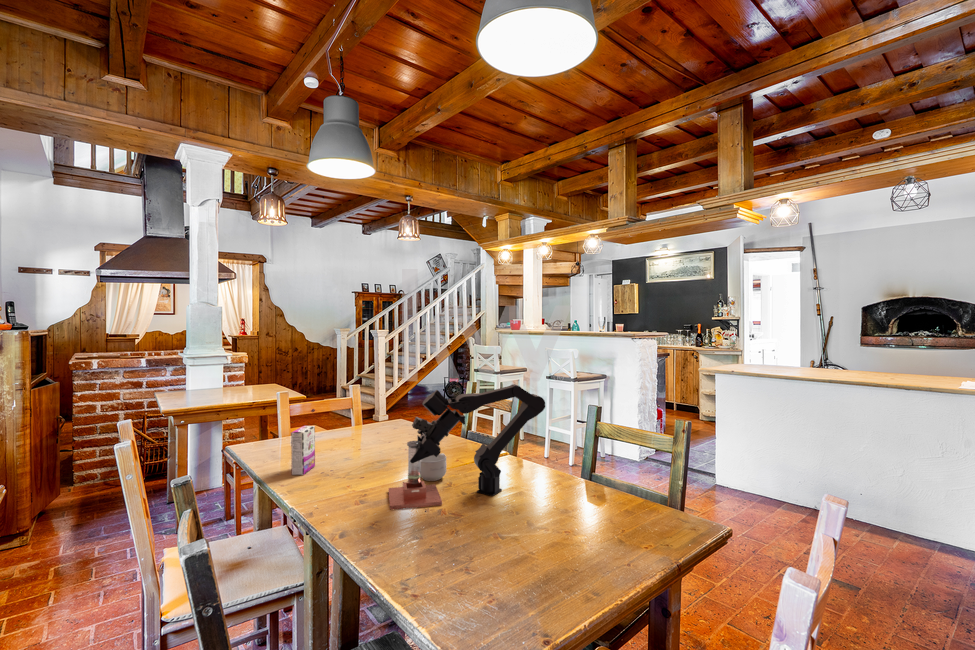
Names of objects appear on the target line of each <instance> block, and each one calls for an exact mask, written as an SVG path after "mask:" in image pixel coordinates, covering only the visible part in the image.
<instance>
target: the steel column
mask: <svg viewBox="0 0 975 650" xmlns="http://www.w3.org/2000/svg"><path fill="white" fill-rule="evenodd" d="M406 446H407V449H408V452H407V453H408V454H407V455H408V459H407V461H408V463H407V467H408V468H407V470H408V471H407V480H408V481H407V482H408V483H409V484H419V483H420V482H421V481H422V480H421V479H422V478H421V460H419V461H417V462H415V463H411V462H410V460H411V459H412V457H413V456H414V454H415V453H416V451H417V450H418V449H419V441H417V440H410V441H407V443H406Z"/></svg>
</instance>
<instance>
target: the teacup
mask: <svg viewBox="0 0 975 650" xmlns="http://www.w3.org/2000/svg"><path fill="white" fill-rule="evenodd" d="M446 473H447V455H446V454H445V453H441V452H440V454H439V455H438V456H437V457H435V456H434V455H433V456H429V457H426V458H424V459H422V460H421V479H423V481H427V482H435V481H440V480H441V479H442V478H443V477H444V476H445V475H446Z"/></svg>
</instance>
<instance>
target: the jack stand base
mask: <svg viewBox="0 0 975 650" xmlns="http://www.w3.org/2000/svg"><path fill="white" fill-rule="evenodd" d="M388 501H389V510H392V511H394V510H402V509H403V508H405V509H414V508H415V509H416V507H417V508H424V507H426V508H427V507H437V506H443V500H442V498H441V495H440V493H439V491H438V487H437V484H435V483H433V484H426V483H425V480H421V482H420V483H419V484H409V483H408V481H405V482H402V486H398V487H397V486H396V487H388ZM393 509H394V510H393Z"/></svg>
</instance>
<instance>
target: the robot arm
mask: <svg viewBox="0 0 975 650" xmlns="http://www.w3.org/2000/svg"><path fill="white" fill-rule="evenodd" d="M512 398H516V399H518V400H519V401H521V403H520V406H519V409H518V410H517V413H516V414H515V415H514V416H513V418H511V420H509V422H508V423H507V424H506V425H505V426H504V427H503V429H502V430H501V431H500V432H499V433H498V434H497V436H496V437H495V438H494V439H493V440H492V441H491V442H490V443H488V444H486V443H482V444H481V445H480V446H479V448H478V449H477V450H475V451H474V452H475V454H474V456H473V461H474V464H475V466H476V467H477V468H478V469H479V471H480V472H479V474H478V475H479V476H478V477H477V478H478V479H477V481H478V485H477V487H478V488H477V490H476V493H477V494H482V495H487V496H491V497H494V496H496V495H498V493H500V492H502V490H503V489H502V488H500V481H501V479H500V477H501V472H502V470H501V469H500V468H499V467H498V465H497V463H498V460H499V459H500V455H501V453H502V452H503V450H504V449H505V448H506V447H507V446H508V444H509V443H510V442H511V441H512V440H513V438H515V436H516V435H517V434H518V433H519V432H520V431H521V430H522V428H523V427H524V426H525V425H526V424H527V423H528V422H529V421H531V420H533V419H534V418H536V417H537V416H538V415H540V414H541V413H542V412H543V411H544V410H545V409H546V401H545V399H544V398H543V397H541V396H540V395H538V394H535V393H530V392H529V391H526V390H525V389H523V388H522V387H521V386H520V385H518V384H513V383H512V384H510V385H508V386H505V387H503V386H502V387H500V388H496V389H492V390H488V391H484V392H479V393H461V394H458V395H457V396H456V397H454V398H448V399H447V398H446V397H444V396H443V395H442V393H441V392H440V391H439V390H438V389H436V390H434V392H431V394H429V395H428V396H427V397H425V399H424V400H423V401H422V403H421V404H422V406H424V408H425V409H426V410H428V411H429V412H430V413H431V414H432V415H433V416H434V417H435V416H439V417H438V418H437V419H436V420H431V422H429V421H428V420H427V419H424V418H421V417H418V416H415V418H414V420H413V422H412V424H411V426H412V428H413V429H414V430H417V432H416V433H417V435H416V438H417V440H416V441H419V449H418V450H417V451H416V453H415V454H414V456H413V457H412V459H411V460H410V462H411V463H415V462H417V461H419V460H422V459H424V458H426V457H429V456H433V455H434V456H435V457H437V456H438V455H439V454H441V447H440V445H441V443H440V442H441V441H442V440H443V439H444V438H445V437H448V436H449V433H450V432H451V431H452V430H453V428H454V427H455V426H456V425H457V424H458V423H459V422H460V423H461V424H462V425H464V426H465V425H466V415H464V414H470V413H472V412H474V411H477V410H478V409H480V408H481V407H483V406H486V405H490V404H493V403H497V402H501V401H506V400H509V399H512ZM448 406H449V407H448ZM450 408H451V409H453V410H451V409H450ZM458 411H459V412H458ZM460 413H462V414H460Z"/></svg>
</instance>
